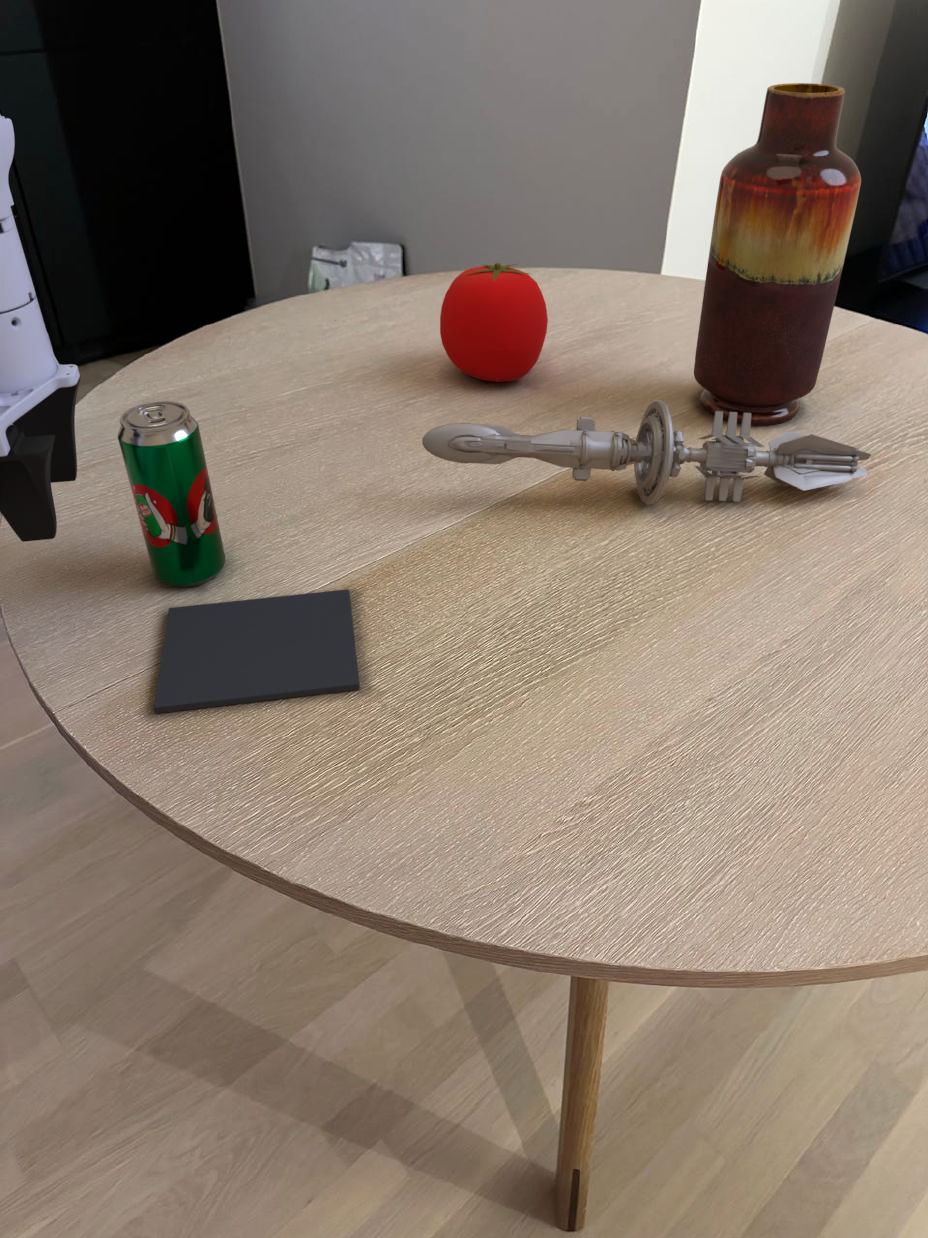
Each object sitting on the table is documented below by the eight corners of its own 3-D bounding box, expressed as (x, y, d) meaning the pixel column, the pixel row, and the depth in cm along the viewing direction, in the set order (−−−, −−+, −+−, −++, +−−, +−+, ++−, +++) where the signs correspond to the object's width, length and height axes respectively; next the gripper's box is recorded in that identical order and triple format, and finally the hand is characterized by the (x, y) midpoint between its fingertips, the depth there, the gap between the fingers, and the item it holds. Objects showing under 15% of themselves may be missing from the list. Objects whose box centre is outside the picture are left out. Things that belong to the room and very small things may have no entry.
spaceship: (421, 385, 72) (428, 386, 64) (848, 410, 76) (902, 414, 68) (417, 487, 74) (422, 500, 66) (833, 507, 78) (883, 521, 70)
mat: (155, 714, 54) (153, 707, 54) (170, 613, 62) (168, 607, 62) (359, 689, 56) (359, 683, 55) (349, 594, 64) (348, 588, 63)
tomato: (488, 404, 88) (488, 289, 82) (422, 372, 95) (417, 263, 88) (568, 376, 93) (574, 266, 87) (500, 347, 100) (501, 242, 94)
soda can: (217, 545, 69) (185, 392, 62) (234, 579, 65) (203, 421, 58) (148, 562, 67) (107, 407, 60) (162, 598, 64) (120, 438, 56)
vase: (756, 374, 93) (811, 74, 77) (836, 415, 85) (915, 91, 69) (665, 395, 89) (703, 84, 74) (739, 440, 81) (799, 103, 66)
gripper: (29, 341, 48) (96, 560, 56) (76, 261, 60) (126, 452, 68) (-115, 351, 47) (-26, 572, 56) (-39, 268, 59) (25, 461, 67)
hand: (50, 507), depth 62 cm, fingers open, 7 cm apart
